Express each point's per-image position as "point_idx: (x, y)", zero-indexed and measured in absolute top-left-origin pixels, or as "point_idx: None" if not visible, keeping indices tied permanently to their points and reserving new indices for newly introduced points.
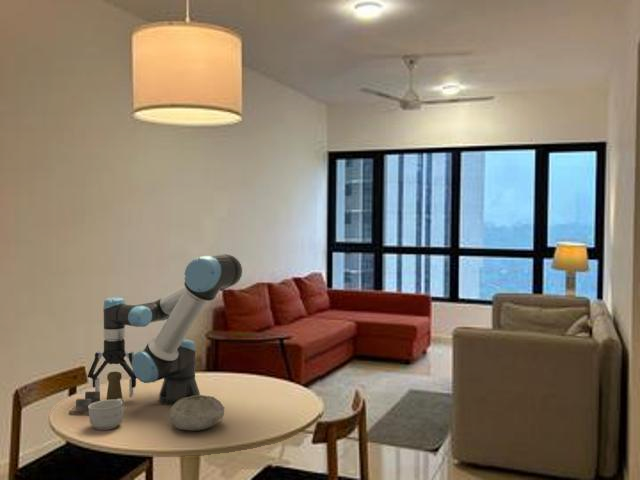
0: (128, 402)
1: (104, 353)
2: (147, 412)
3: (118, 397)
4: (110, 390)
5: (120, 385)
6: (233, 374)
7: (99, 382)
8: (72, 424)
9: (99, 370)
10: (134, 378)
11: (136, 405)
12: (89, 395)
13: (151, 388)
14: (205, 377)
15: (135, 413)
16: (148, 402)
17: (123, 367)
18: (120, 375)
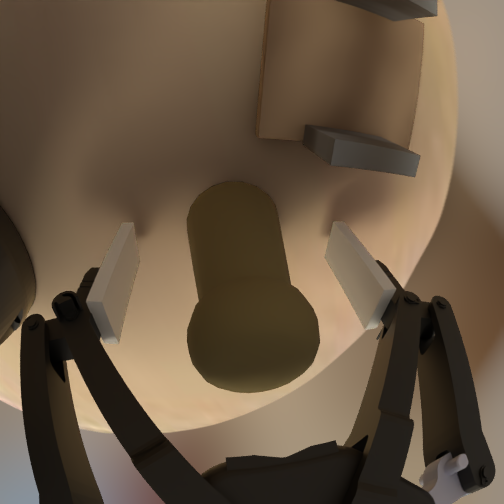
0: (143, 202)
1: None
2: (6, 56)
3: (200, 213)
4: (259, 230)
5: (197, 287)
6: None
7: (353, 304)
8: None
9: (404, 354)
10: (60, 310)
11: (80, 152)
12: (385, 144)
13: (139, 369)
14: None
15: (52, 22)
16: (48, 210)
17: (143, 418)
18: (189, 344)
